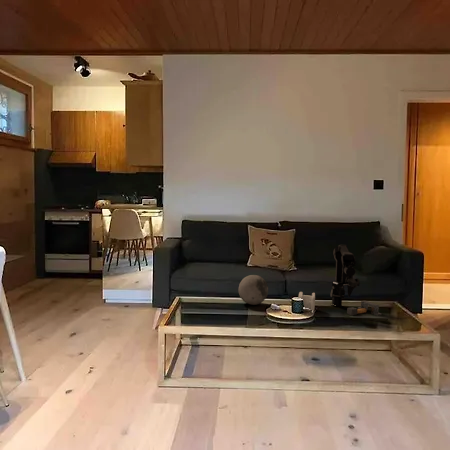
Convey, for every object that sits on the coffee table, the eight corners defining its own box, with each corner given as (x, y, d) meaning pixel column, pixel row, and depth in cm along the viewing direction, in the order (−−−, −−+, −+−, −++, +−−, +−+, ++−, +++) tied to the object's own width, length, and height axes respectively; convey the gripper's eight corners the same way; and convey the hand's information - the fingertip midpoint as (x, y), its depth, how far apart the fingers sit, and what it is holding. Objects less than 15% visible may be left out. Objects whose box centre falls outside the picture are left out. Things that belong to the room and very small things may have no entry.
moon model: (238, 307, 348) (240, 277, 346) (237, 299, 368) (238, 271, 366) (268, 308, 349) (270, 279, 346) (265, 301, 369) (267, 272, 366)
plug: (351, 315, 343) (351, 309, 343) (346, 313, 347) (347, 307, 347) (367, 313, 350) (367, 307, 350) (362, 311, 354) (363, 306, 354)
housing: (357, 308, 361) (358, 300, 360) (361, 308, 363) (362, 299, 362) (377, 315, 346) (377, 306, 345) (381, 315, 348) (382, 306, 347)
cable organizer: (313, 315, 339) (315, 297, 338) (297, 313, 341) (298, 295, 340) (313, 309, 354) (315, 292, 353) (298, 307, 356) (299, 290, 354)
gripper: (344, 276, 328) (342, 301, 330) (366, 274, 337) (364, 298, 339) (332, 273, 338) (330, 297, 339) (354, 271, 347) (352, 294, 349)
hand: (344, 296), depth 341 cm, fingers open, 7 cm apart
